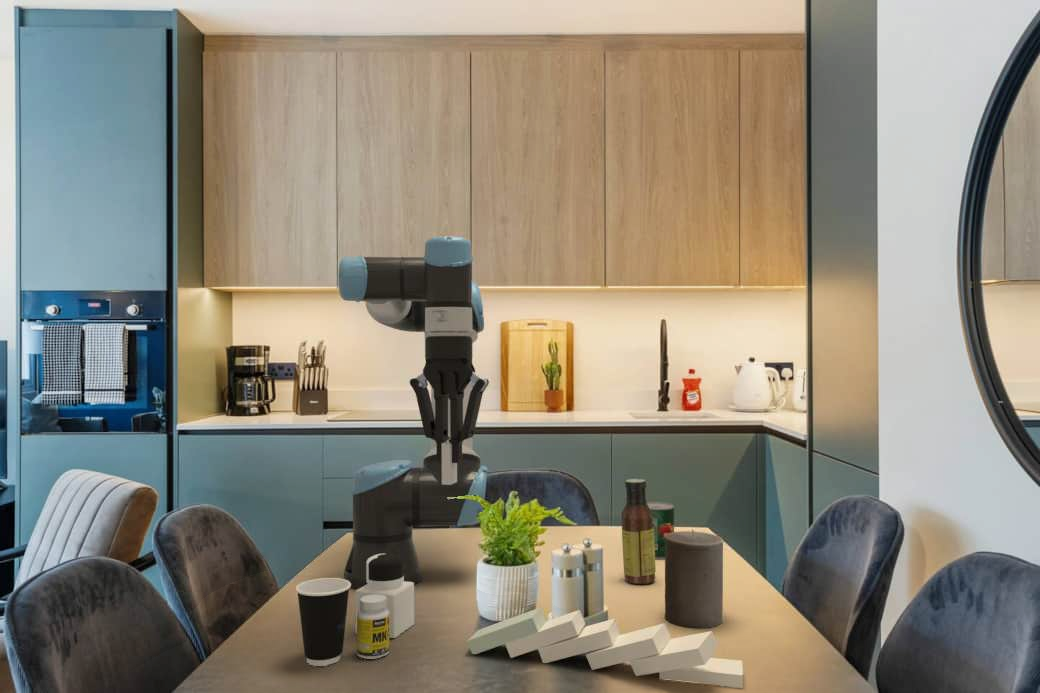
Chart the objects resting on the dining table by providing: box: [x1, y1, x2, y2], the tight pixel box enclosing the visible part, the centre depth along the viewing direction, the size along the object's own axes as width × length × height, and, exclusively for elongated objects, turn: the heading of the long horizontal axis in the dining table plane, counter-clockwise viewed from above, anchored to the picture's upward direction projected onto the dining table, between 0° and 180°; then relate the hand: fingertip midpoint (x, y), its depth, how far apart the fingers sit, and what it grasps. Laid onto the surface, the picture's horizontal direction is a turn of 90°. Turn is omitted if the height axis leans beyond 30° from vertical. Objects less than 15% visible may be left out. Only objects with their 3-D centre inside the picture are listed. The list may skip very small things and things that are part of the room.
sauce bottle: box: [621, 478, 657, 585], centre depth 152 cm, size 7×6×20 cm
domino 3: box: [585, 622, 672, 671], centre depth 109 cm, size 2×5×11 cm
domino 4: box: [629, 630, 719, 677], centre depth 106 cm, size 2×5×11 cm
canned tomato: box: [646, 501, 675, 560], centre depth 172 cm, size 8×8×11 cm
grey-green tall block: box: [467, 607, 547, 655], centre depth 116 cm, size 2×5×11 cm
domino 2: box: [537, 618, 621, 664], centre depth 113 cm, size 2×5×11 cm
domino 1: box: [504, 609, 586, 659], centre depth 115 cm, size 2×5×11 cm
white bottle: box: [354, 553, 415, 639], centre depth 126 cm, size 7×7×12 cm
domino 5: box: [658, 657, 744, 689], centre depth 107 cm, size 2×5×11 cm
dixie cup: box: [295, 577, 351, 665], centre depth 114 cm, size 8×8×11 cm
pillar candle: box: [664, 529, 724, 629], centre depth 131 cm, size 10×10×15 cm
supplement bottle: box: [356, 594, 390, 660], centre depth 116 cm, size 5×5×8 cm
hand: (449, 483), depth 123 cm, fingers closed
